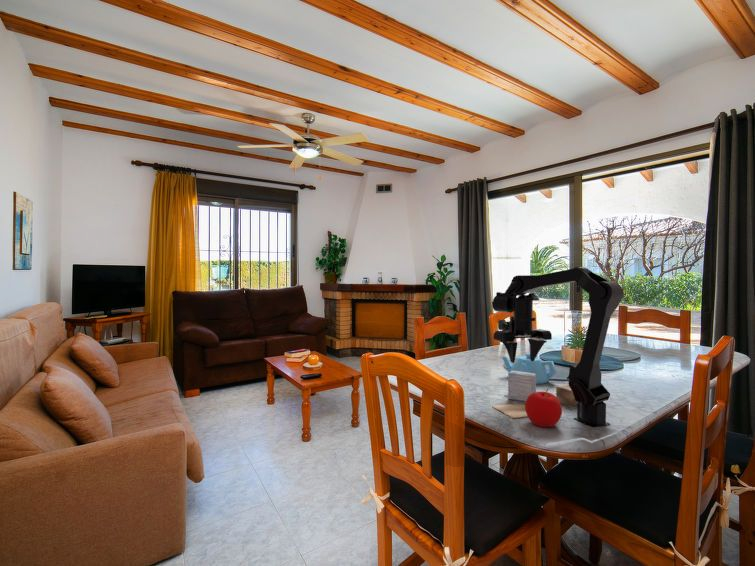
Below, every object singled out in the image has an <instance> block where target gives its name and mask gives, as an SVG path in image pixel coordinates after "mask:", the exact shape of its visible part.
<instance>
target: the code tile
mask: <svg viewBox="0 0 755 566" xmlns="http://www.w3.org/2000/svg"><path fill="white" fill-rule="evenodd" d="M503 397H505V398H507V399H508V394H506V395H505V394H504V395H503ZM510 400H511V401H513V402H515V403H520V404H522V405H525V403H526V402H525V401H519V400H513V399H510Z"/></svg>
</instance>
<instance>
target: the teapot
mask: <svg viewBox="0 0 755 566" xmlns="http://www.w3.org/2000/svg"><path fill="white" fill-rule="evenodd" d="M501 358H502V361H503V363H504V365H505V367H506V370H507V372H508V373H509V372H510V371H512V370H513V371H520V372H528V373H534V374H536V385H541V384H546V383H548V382H549V380H550V379H551V378H552V377H554V376H555V375H557V374H558V372H557V369H556V366H555V363H554V360H546V361H543V360H542V358H539V357H538V355H537V356H536V358H535V360H534V361H531V360H530V352H528V353H525V355H521V356H518V357H517V358H515V361H514V363H512V362H511V360H510V358H508V357H507V356H502V357H501ZM546 366H548V368H549V372H548V369H547V367H546Z"/></svg>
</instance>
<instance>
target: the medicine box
mask: <svg viewBox="0 0 755 566" xmlns="http://www.w3.org/2000/svg"><path fill="white" fill-rule="evenodd" d="M507 383H508V384H507V395H508V398H507V399H509V400H511V399H513V400H519V401H525V402H526V400H527V398H528V396H529V395H531V394H532V393H535V392H537V384H536V374H534V373H528V372H520V371H513V370H512V371H510V372H509V371H508V374H507ZM513 400H512V401H513Z"/></svg>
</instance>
